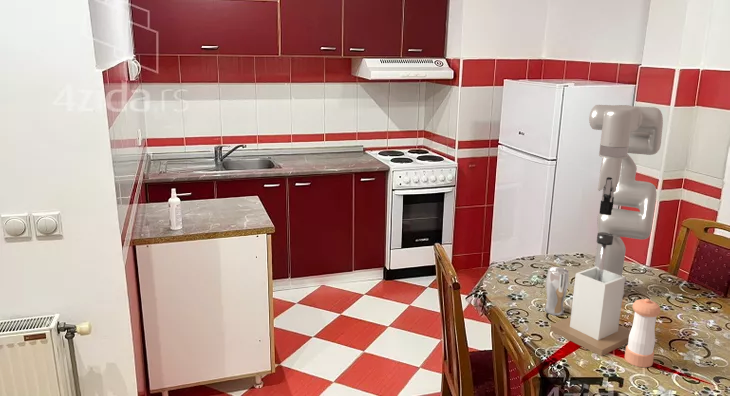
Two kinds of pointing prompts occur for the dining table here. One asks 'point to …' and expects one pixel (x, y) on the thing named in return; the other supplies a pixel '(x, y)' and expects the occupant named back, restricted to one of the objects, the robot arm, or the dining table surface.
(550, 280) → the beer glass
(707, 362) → the dining table surface
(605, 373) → the dining table surface
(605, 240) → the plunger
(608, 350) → the white pen holder
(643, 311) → the salt shaker
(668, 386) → the dining table surface
